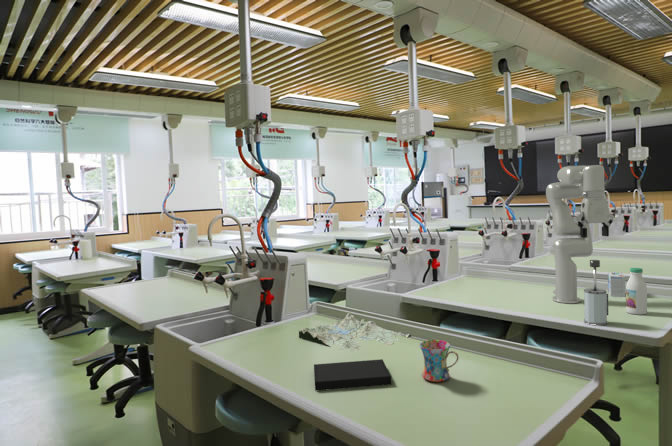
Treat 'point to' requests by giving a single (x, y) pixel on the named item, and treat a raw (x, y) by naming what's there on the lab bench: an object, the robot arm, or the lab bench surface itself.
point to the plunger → (595, 264)
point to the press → (595, 306)
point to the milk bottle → (636, 293)
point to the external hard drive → (351, 374)
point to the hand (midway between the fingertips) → (594, 236)
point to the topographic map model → (348, 333)
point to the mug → (436, 360)
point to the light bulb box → (616, 284)
